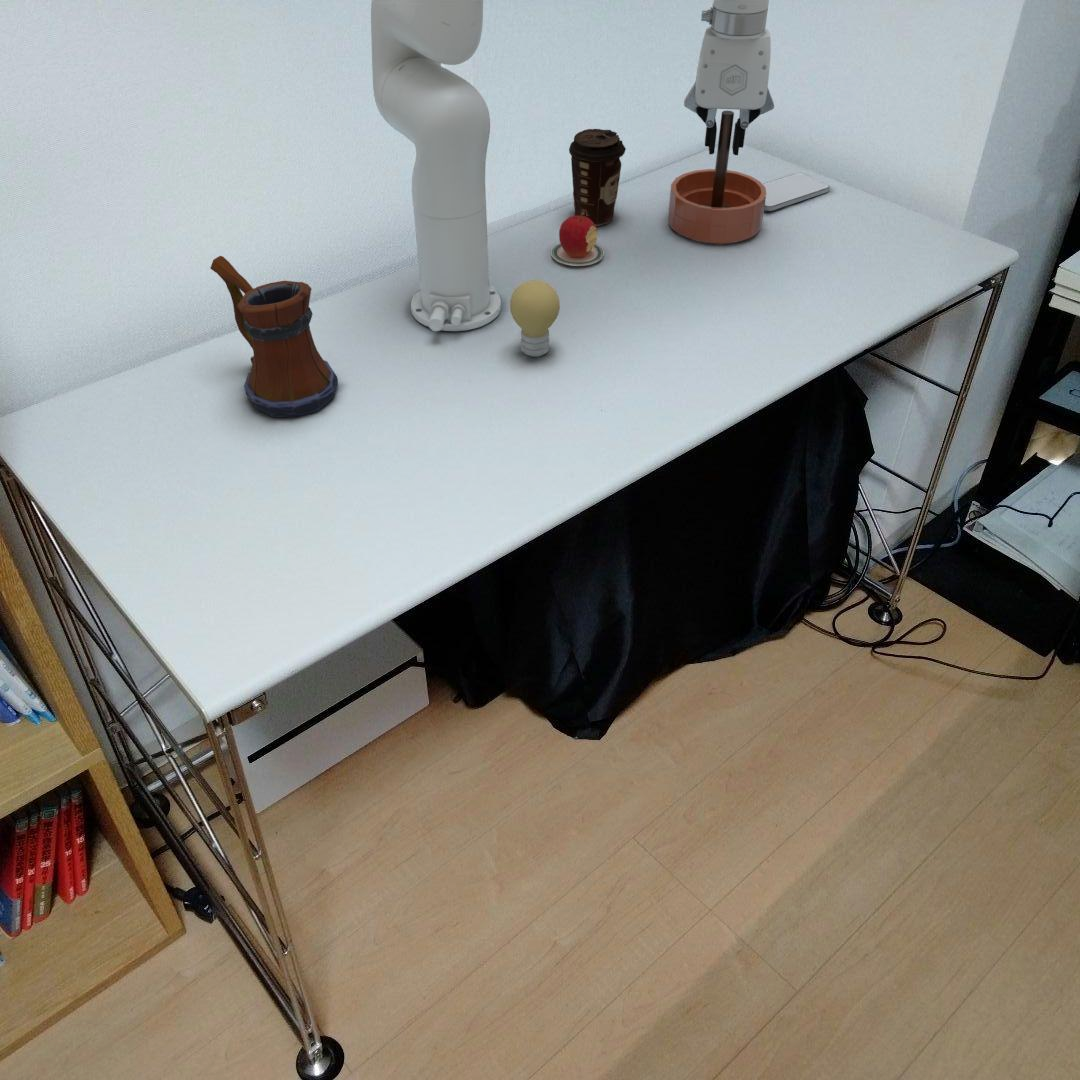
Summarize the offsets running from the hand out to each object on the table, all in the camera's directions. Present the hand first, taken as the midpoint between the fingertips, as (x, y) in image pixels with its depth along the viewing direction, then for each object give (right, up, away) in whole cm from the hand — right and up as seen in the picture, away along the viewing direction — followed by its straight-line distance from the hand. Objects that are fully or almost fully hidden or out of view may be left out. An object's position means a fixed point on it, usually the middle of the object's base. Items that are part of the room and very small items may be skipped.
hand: (723, 150), depth 156 cm
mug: (-61, -39, -24) cm, 76 cm away
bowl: (0, -9, +8) cm, 12 cm away
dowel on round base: (0, -8, +8) cm, 11 cm away
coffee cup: (-19, -7, +10) cm, 23 cm away
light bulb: (-28, -34, -19) cm, 48 cm away
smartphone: (+13, -2, +16) cm, 21 cm away
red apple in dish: (-22, -16, +1) cm, 27 cm away
